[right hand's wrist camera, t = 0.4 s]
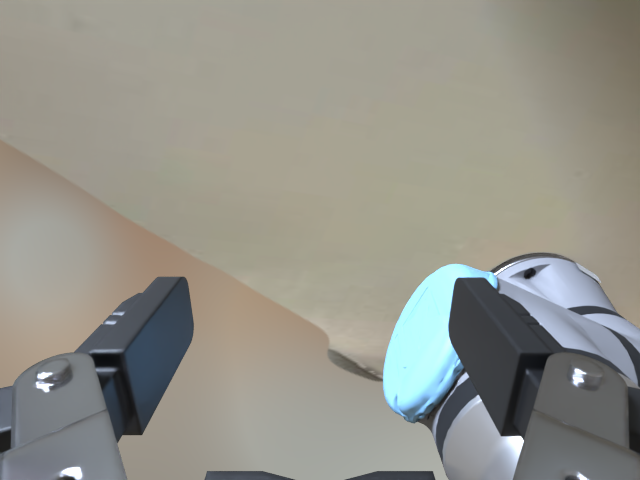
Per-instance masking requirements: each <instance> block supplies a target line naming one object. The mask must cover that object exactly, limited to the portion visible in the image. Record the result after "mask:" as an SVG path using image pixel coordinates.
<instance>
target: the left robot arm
mask: <svg viewBox="0 0 640 480" xmlns="http://www.w3.org/2000/svg"><path fill="white" fill-rule="evenodd" d="M458 277H484V278H486V279H487V280H488V281H489V282H490V284H491V285H492V286H493V287H494V288H495V289H496V290H497V291H498V292H499V293H500V294H505V295H507V296H509V297H510V298H512V299H514V300H516V301H517V302H519V303H520V304H521V305H522V306H523V307H524V308H525V309H526V310H527V311H528V312H529V313H530V315H531V316H533V317H534V318H535V319H536V320H537V321H538V322H539V325H542V326H543V327H544V328H545V329H546V330H547V331H548V332H549V333H550V334H551V335H552V336H553V337H554V338H555V339H556V340H557V341H558V342H559V343H560V344H561V345H562V346H563V347H564V349H565V350H566V351H567V352H568V353H576V354H580V355H584V356H587V357H590V358H593V359H595V360H598V361H600V362H602V363H604V364H606V365H607V366H609V367H610V368H612V369H613V370H615V371H616V372H617V373H618V374H619V375H620V376H621V377H622V378H623V379H624V380H625V382H626V384H627V386H629V387H633V388H638V389H640V329H639V328H637V327H636V326H635V325H633V324H632V323H630V322H629V321H627V320H626V319H625V318H623V317H622V316H620V315H619V314H618V313H617V312H616V310H615V308H614V307H613V305H612V304H611V302H610V300H609V299H608V297H607V296H606V294H605V293H604V291H603V289H602V288H601V286H600V285H599V283H598V282H597V280H598V281H599V282H601V281H600V280H599V278H598V277H597V275H595V274H593V273H592V272H590V271H589V270H587V269H586V268H584V267H582V266H581V265H579V264H578V263H576V262H574V261H572V260H570V259H568V258H566V257H564V256H560V255H557V254H551V253H533V254H527V255H522V256H519V257H516V258H513V259H510V260H508V261H506V262H504V263H502V264H501V265H499V266H497V267H496V268H494V269H493V270H492V271H490V272H483V271H480V270H477V269H474V268H471V267H469V266H466V265H462V264H451V265H447V266H444V267H442V268H440V269H438V270H437V271H436V272H435V273H433V274H431V275H430V276H428V277H427V278H426V279H425V280H424V281H423V282H422V284H421V285H420V286H419V287H418V288H417V290H416V291H415V292H414V294H413V295H412V297H411V298H410V300H409V301H408V303H407V305H406V306H405V308H404V310H403V312H402V314H401V316H400V318H399V320H398V322H397V324H396V327H395V329H394V332H393V335H392V338H391V341H390V343H389V347H388V350H387V354H386V359H385V365H384V373H383V389H384V395H385V398H386V401H387V403H388V405H389V407H390V408H391V409H392V410H393V411H394V412H395V413H397V414H399V415H401V416H403V417H404V419H405V420H406V421H408V422H411V423H415V422H420V423H422V424H424V425H426V426H427V427H428V428H429V429H430V430H431V432H432V434H433V437H434V440H435V443H436V446H437V449H438V452H439V455H440V457H441V461H442V464H443V467H444V470H445V473H446V475H447V477H448V479H449V480H513V476H514V473H515V469H516V466H517V462H518V459H519V455H520V452H521V448H522V445H523V439H522V438H521V436H500V434H499V432H498V430H497V428H496V426H495V424H494V423H493V421H492V419H491V417H490V415H489V413H488V411H487V410H486V408H485V406H484V404H483V402H482V400H481V398H480V396H479V395H478V393H477V391H476V389H475V387H474V385H473V383H472V382H471V380H470V378H469V376H468V374H467V372H466V370H465V369H464V367H463V365H462V363H461V361H460V359H459V357H458V355H457V354H456V352H455V350H454V348H453V346H452V344H451V342H450V338H449V332H448V323H449V315H450V309H451V302H452V295H453V288H454V283H455V280H456V279H457V278H458Z"/></svg>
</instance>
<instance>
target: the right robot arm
mask: <svg viewBox="0 0 640 480" xmlns="http://www.w3.org/2000/svg"><path fill="white" fill-rule="evenodd" d="M193 330H194V323H193V315H192V308H191V301H190V294H189V287H188V282H187V280H186V278H185V277H157V278H156V279H155V280H154V281H153V282H152V283H151V284H150V286H149V287H148V288H147V289H146V290H145V291H144V292H143V293H138V294H136V295H134V296H133V297H131V298H129V299H127V300H126V301H124V302H122V303H121V304H120V305H119V306H118V308H117V309H116V310H115V311H114V312H113V313H112V315H110V316H109V317H108V318H107V319H106V320H105V321H104V322H103V324H101V325H100V326H99V327H98V328H97V329H96V330H95V331H94V332H93V333H92V334H91V335H90V336H89V337H88V338H87V340H86V341H85V342H84V343H83V344H82V345H81V346H80V347H79V348H78V349H77V350H76V351H75V352H73V353H64V354H60V355H56V356H53V357H50V358H47V359H45V360H42V361H40V362H38V363H36V364H35V365H33V366H31V367H30V368H28V369H27V370H25V371H24V372H23V373H22V374H21V375H20V376H19V377H18V378H17V379H16V380H15V382H14V384H13V386H9V387H4V388H0V480H127V477H126V473H125V469H124V466H123V462H122V459H121V455H120V452H119V448H118V445H117V443H118V441H119V440H120V438H121V436H122V435H142V434H143V432H144V430H145V428H146V427H147V425H148V423H149V421H150V419H151V417H152V415H153V413H154V411H155V410H156V408H157V406H158V404H159V402H160V400H161V398H162V396H163V394H164V393H165V391H166V389H167V387H168V385H169V383H170V381H171V379H172V377H173V376H174V374H175V372H176V370H177V368H178V366H179V364H180V362H181V360H182V359H183V357H184V355H185V353H186V351H187V349H188V347H189V345H190V343H191V341H192V337H193ZM448 332H449V338H450V342H451V344H452V346H453V348H454V350H455V352H456V354H457V355H458V357H459V359H460V361H461V363H462V365H463V367H464V369H465V370H466V372H467V374H468V376H469V378H470V380H471V382H472V383H473V385H474V387H475V389H476V391H477V393H478V395H479V396H480V398H481V400H482V402H483V404H484V406H485V408H486V410H487V411H488V413H489V415H490V417H491V419H492V421H493V423H494V424H495V426H496V428H497V430H498V432H499V434H500V436H521V438H522V439H523V445H522V448H521V452H520V455H519V459H518V462H517V466H516V469H515V473H514V476H513V480H640V389H638V388H633V387H629V386H627V384H626V382H625V380H624V379H623V378H622V377H621V376H620V375H619V374H618V373H617V372H616V371H615V370H613V369H612V368H610V367H609V366H607V365H606V364H604V363H602V362H600V361H598V360H595V359H593V358H590V357H587V356H584V355H580V354H576V353H568V352H567V351H566V350H565V349H564V347H563V346H562V345H561V344H560V343H559V342H558V341H557V340H556V339H555V338H554V337H553V336H552V335H551V334H550V333H549V332H548V331H547V330H546V329H545V328H544V327H543V326H542V325H539V322H538V321H537V320H536V319H535V318H534V317H533V316H531V315H530V313H529V312H528V311H527V310H526V309H525V308H524V307H523V306H522V305H521V304H520V303H519V302H517V301H516V300H514V299H512V298H510V297H509V296H507V295H505V294H500V293H499V292H498V291H497V290H496V289H495V288H494V287H493V286H492V285H491V284H490V282H489V281H488V280H487V279H486V278H484V277H458V278H457V279H456V280H455V283H454V288H453V295H452V302H451V309H450V315H449V323H448ZM205 480H294V479H290V478H286V477H283V476H279V475H275V474H271V473H267V472H263V471H207V474H206V477H205ZM346 480H435V477H434V474H433V471H377V472H373V473H369V474H365V475H361V476H358V477H354V478H350V479H346Z"/></svg>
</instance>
